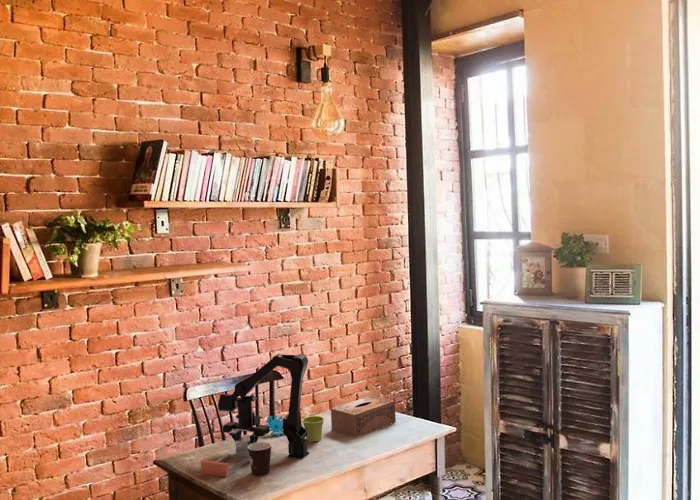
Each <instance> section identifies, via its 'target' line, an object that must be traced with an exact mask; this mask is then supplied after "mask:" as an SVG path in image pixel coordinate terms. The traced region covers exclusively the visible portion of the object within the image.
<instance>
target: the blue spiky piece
mask: <svg viewBox="0 0 700 500" xmlns="http://www.w3.org/2000/svg"><path fill="white" fill-rule="evenodd" d="M273 418H274V419H273ZM265 423H266V424H265V425H268V426H269V428H270V435H271V436H274V435H275V433H276V435H275V436H276V437H280V435H281V436H285V435H284V434H283V429H282V427H283V416H282V415H279V417H278V414H274V416H273V415H269V417H268V418H267V419H266V420H265Z"/></svg>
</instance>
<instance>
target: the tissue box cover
mask: <svg viewBox="0 0 700 500" xmlns="http://www.w3.org/2000/svg"><path fill="white" fill-rule="evenodd" d="M330 418H331V419H330V420H331V421H330V422H331V432H334V433H338V434H341V433H342V435H345V436H349V437H352V438H359V437H360V436H364V435H366V434H369V433H372V432H374V431H377V430H379V429H382V428H385V427H388V426H389V425H393V424H395V423H396V422H397V420H396V419H397V418H396V401H395V400H392V399H388V398H383V397H379V396H375V395H369V396H366V397H362V398H360V399H356V400H353V401H350V402H347V403H343V404H341V405H338V406H334V407H332V408H330Z"/></svg>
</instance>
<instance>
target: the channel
mask: <svg viewBox="0 0 700 500" xmlns="http://www.w3.org/2000/svg"><path fill="white" fill-rule="evenodd" d="M231 457H232V454H231V453H226V454H225V455H223V456H222V457H220V458H218V459H217V460H215V461H213V460H206V459H202V460H201V461H200V473H201V474H202V473H203V474H204V475H211V476H217V477H224V478H227V477H228V476H229V477H230V475H232V474H233V473H235V471H237V470H238V469H239V470H240V468H242V467H243V466H244V465H246V464H247V463H250V459H249V456H248V457H244V458H243V459H241V460H239V462H238V463H236V464H234V465H233V466H231V467H230V468H229V463H228V462H225V461H227V460H228V459H230V458H231Z"/></svg>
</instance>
